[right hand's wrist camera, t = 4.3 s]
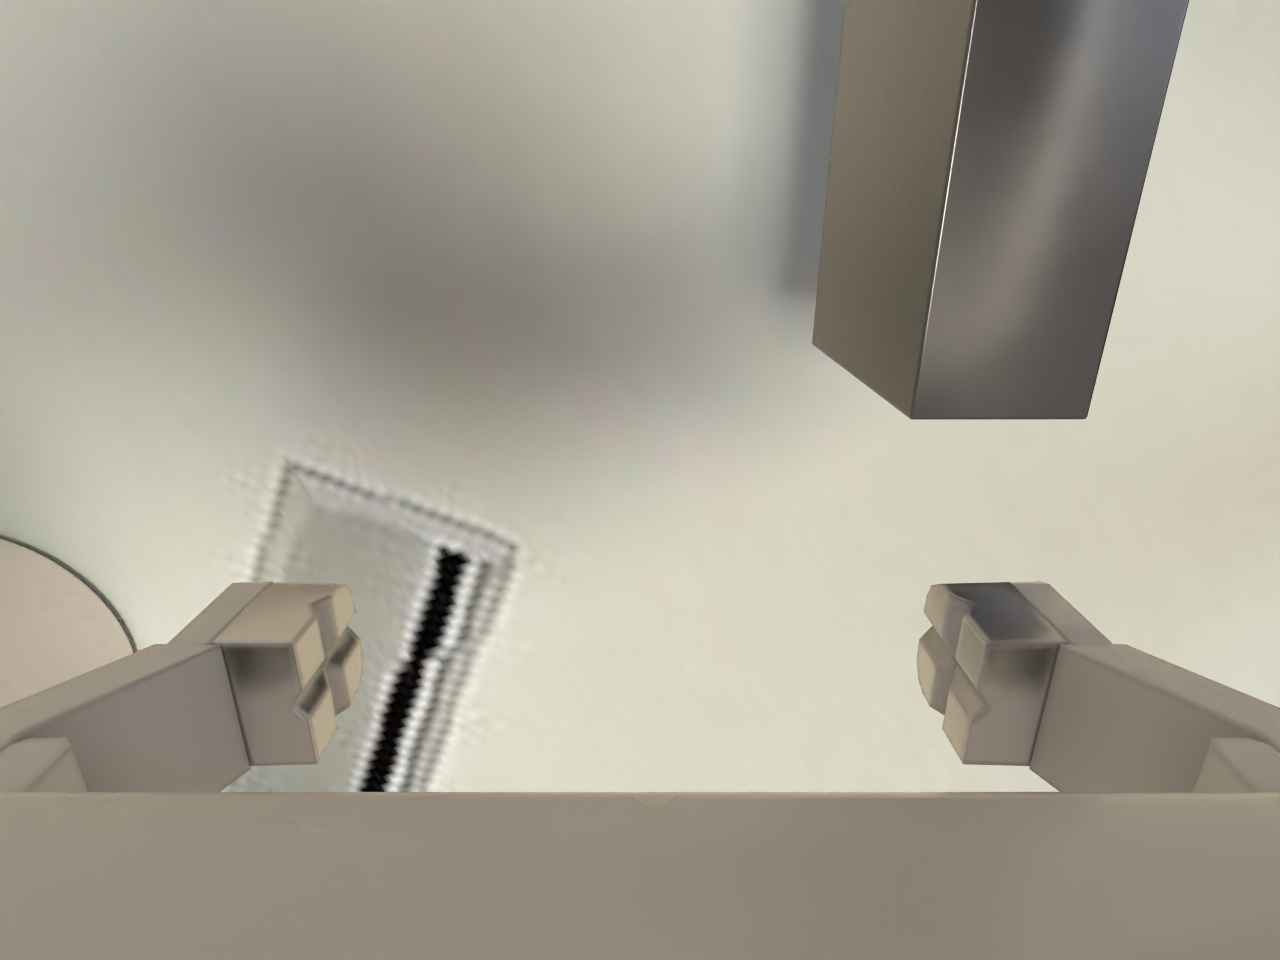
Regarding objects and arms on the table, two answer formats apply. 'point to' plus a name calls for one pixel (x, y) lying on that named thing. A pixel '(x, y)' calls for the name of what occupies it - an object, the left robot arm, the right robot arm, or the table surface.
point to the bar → (987, 196)
